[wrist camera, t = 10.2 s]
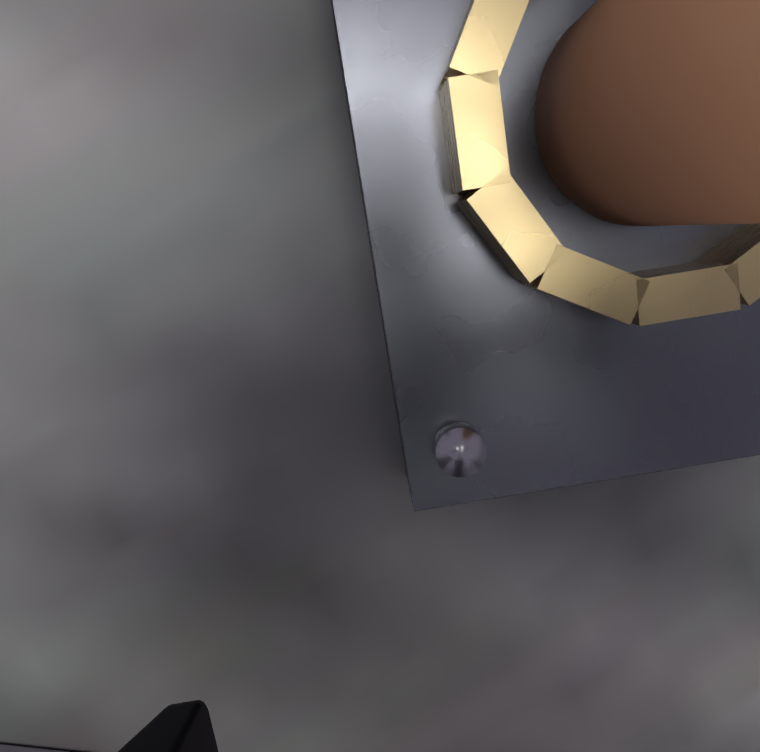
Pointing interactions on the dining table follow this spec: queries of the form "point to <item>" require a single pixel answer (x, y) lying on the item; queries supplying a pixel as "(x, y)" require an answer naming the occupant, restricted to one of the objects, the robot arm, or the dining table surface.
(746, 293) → the gearbox housing
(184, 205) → the dining table surface
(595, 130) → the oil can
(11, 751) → the coffee box
